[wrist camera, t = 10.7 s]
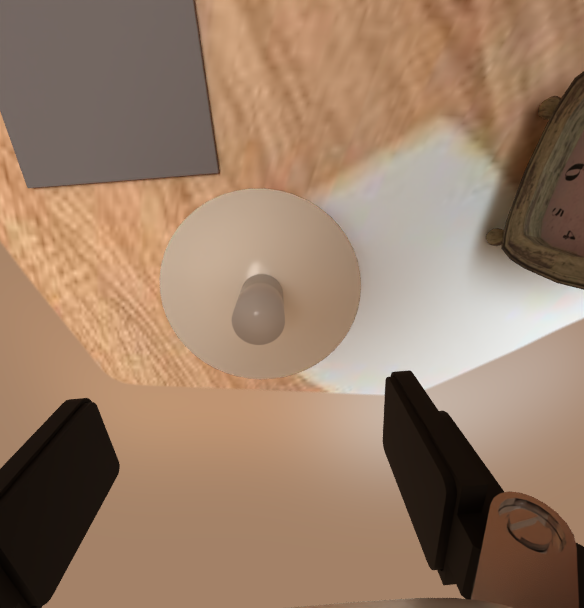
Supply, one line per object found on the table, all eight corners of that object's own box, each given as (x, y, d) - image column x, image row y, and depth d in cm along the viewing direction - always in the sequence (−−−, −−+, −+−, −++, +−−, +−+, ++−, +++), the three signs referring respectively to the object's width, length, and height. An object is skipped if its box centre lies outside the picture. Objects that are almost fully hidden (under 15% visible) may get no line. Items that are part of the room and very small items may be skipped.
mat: (182, -80, 21) (180, -88, 21) (219, 173, 27) (218, 173, 26) (-55, -65, 21) (-65, -72, 20) (32, 188, 27) (27, 188, 26)
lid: (356, 179, 22) (385, 177, 16) (357, 362, 27) (378, 410, 22) (143, 197, 22) (95, 201, 16) (186, 378, 27) (161, 431, 21)
